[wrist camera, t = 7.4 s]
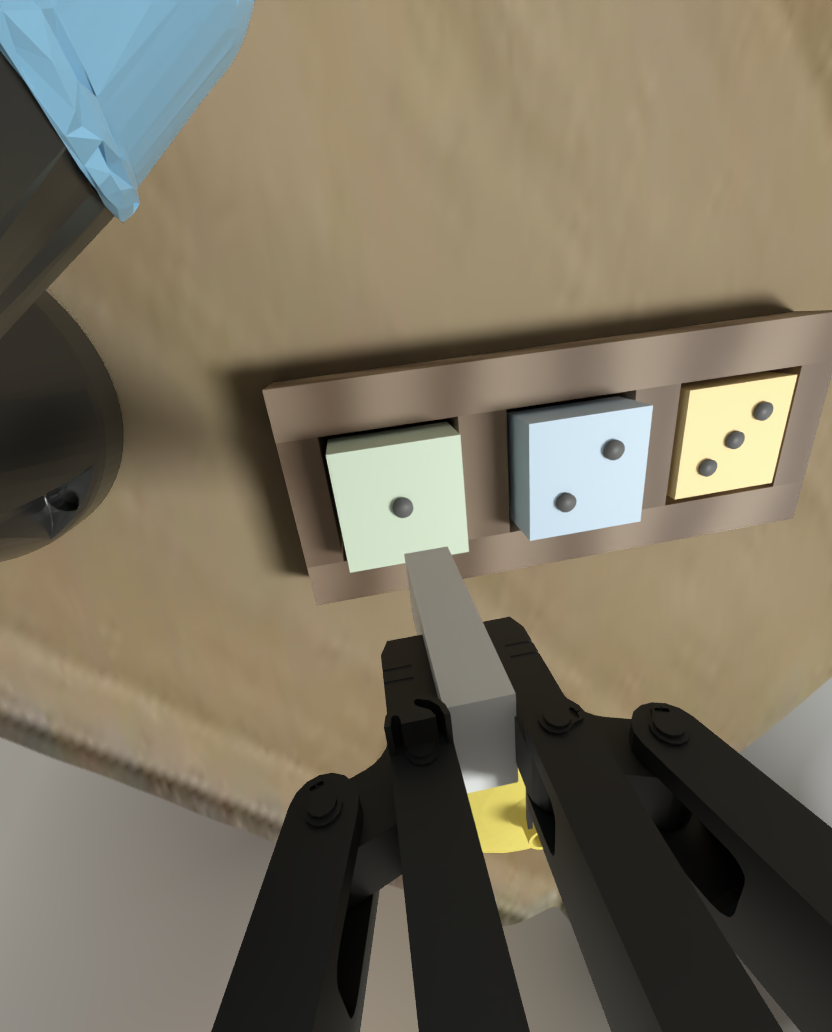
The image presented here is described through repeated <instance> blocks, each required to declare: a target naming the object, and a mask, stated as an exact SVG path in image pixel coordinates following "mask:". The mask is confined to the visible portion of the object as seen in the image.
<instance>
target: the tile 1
mask: <svg viewBox="0 0 832 1032" xmlns="http://www.w3.org/2000/svg"><path fill="white" fill-rule="evenodd" d="M326 459H327V464H328V469H329V474H330V478H331V483H332V488H333V493H334V498H335V503H336V507H337V512H338V517H339V522H340V527H341V531H342V536H343V541H344V546H345V551H346V556H347V560H348V565H349V570H350V573H352V572H357V571H363V570H369V569H374V568H380V567H386V566H391V565H397V564H403V563H405V557H404V554H406V553H412V552H418V551H424V550H429V549H435V548H441V547H447V546H448V548H449V550H450V553H451V555H453V554H459V553H465V552H469V545H468V531H467V518H466V504H465V490H464V477H463V463H462V450H461V436H460V434H459V433H458V432H457V431H456V430H455V429H454V428H453V427H452V426H451V425H450V424H449V423H448V422H441V423H434V424H427V425H420V426H414V427H407V428H400V429H394V430H387V431H380V432H373V433H367V434H360V435H353V436H347V437H340V438H333V439H328V442H327V449H326Z"/></svg>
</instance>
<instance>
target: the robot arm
mask: <svg viewBox="0 0 832 1032" xmlns="http://www.w3.org/2000/svg"><path fill="white" fill-rule="evenodd" d="M254 2H255V0H0V562H2V561H6V560H10V559H13V558H17V557H20V556H23V555H26V554H28V553H31V552H33V551H35V550H38V549H40V548H42V547H44V546H46V545H48V544H50V543H51V542H53V541H55V540H56V539H58V538H59V537H61V536H62V535H64V534H65V533H66V532H68V531H69V530H71V529H72V528H73V527H75V526H76V525H77V524H79V523H80V522H81V521H83V520H84V519H85V518H86V517H88V516H89V515H90V514H91V513H92V512H93V511H94V510H95V509H96V508H97V507H98V506H99V505H100V504H101V502H102V501H103V500H104V498H105V497H106V496H107V494H108V492H109V491H110V489H111V487H112V485H113V483H114V481H115V479H116V476H117V473H118V470H119V467H120V463H121V458H122V451H123V423H122V415H121V410H120V405H119V402H118V398H117V394H116V391H115V389H114V386H113V383H112V381H111V378H110V376H109V374H108V371H107V369H106V367H105V365H104V363H103V361H102V359H101V358H100V356H99V354H98V353H97V351H96V349H95V348H94V346H93V345H92V343H91V342H90V340H89V339H88V337H87V336H86V334H85V333H84V332H83V330H82V329H81V328H80V327H79V325H78V324H77V323H76V322H75V320H74V319H73V318H72V317H71V316H70V315H69V313H68V312H67V311H66V310H65V309H64V308H63V307H62V306H61V305H60V304H59V303H58V302H57V301H56V300H55V299H54V298H53V297H52V296H51V295H50V294H49V293H47V292H46V291H45V290H46V289H47V288H48V287H49V286H50V285H51V284H52V283H53V282H54V280H55V279H56V278H57V277H58V276H59V275H60V274H61V273H62V272H63V271H64V270H65V269H66V268H67V267H68V265H69V264H70V263H71V262H72V261H73V260H74V259H75V258H76V257H77V256H78V255H79V254H80V253H81V252H82V251H83V249H84V248H85V247H86V246H87V245H88V244H89V243H90V242H91V241H92V240H93V239H94V238H95V237H96V236H97V234H98V233H99V232H100V231H101V230H102V229H103V228H104V227H105V226H106V225H107V224H108V223H109V222H110V221H111V220H112V218H113V217H114V216H115V217H117V218H118V219H119V220H120V221H121V222H122V223H123V222H124V221H126V220H127V219H128V218H129V217H130V216H132V215H133V214H134V212H135V211H136V209H137V207H138V206H139V204H140V201H139V196H138V189H137V188H138V186H139V185H140V184H141V182H142V181H143V180H144V178H145V177H146V176H147V174H148V173H149V172H150V170H151V169H152V168H153V166H154V165H155V164H156V162H157V161H158V160H159V158H160V157H161V156H162V154H163V153H164V152H165V150H166V149H167V148H168V146H169V145H170V143H171V142H172V141H173V139H174V138H175V137H176V135H177V134H178V133H179V131H180V130H181V129H182V127H183V126H184V125H185V123H186V122H187V121H188V119H189V118H190V117H191V115H192V114H193V113H194V111H195V110H196V109H197V107H198V106H199V105H200V103H201V102H202V101H203V99H204V98H205V97H206V96H207V94H208V93H209V92H210V91H211V89H212V88H213V87H214V86H215V84H216V83H217V82H218V81H219V79H220V78H221V77H222V76H223V74H224V73H225V72H226V71H227V69H228V68H229V67H230V65H231V64H232V62H233V60H234V58H235V57H236V55H237V53H238V51H239V49H240V47H241V45H242V42H243V40H244V37H245V35H246V32H247V30H248V26H249V22H250V18H251V14H252V10H253V6H254ZM404 557H405V564H406V571H407V577H408V584H409V591H410V598H411V605H412V612H413V619H414V623H415V628H416V632H417V636H412V637H407V638H402V639H397V640H391V641H387V643H386V645H385V647H384V650H383V652H382V654H381V660H382V669H383V678H384V688H385V697H386V707H387V715H386V717H385V724H384V730H385V735H386V740H387V747H386V749H385V751H384V753H383V754H382V756H381V757H380V758H379V759H378V760H377V761H376V763H375V764H373V765H372V766H371V767H369V768H368V769H366V770H365V771H363V772H361V773H359V774H357V775H356V776H354V777H352V778H350V779H348V778H347V777H346V776H345V775H340V774H336V773H329V774H323V775H319V776H317V777H315V778H314V779H312V780H310V781H308V782H307V783H306V784H305V785H304V786H303V787H302V788H301V789H300V790H299V791H298V792H297V793H296V794H295V796H294V798H293V800H292V802H291V804H290V806H289V808H288V811H287V814H286V817H285V820H284V823H283V826H282V828H281V831H280V834H279V837H278V840H277V843H276V846H275V849H274V852H273V855H272V857H271V860H270V863H269V866H268V869H267V872H266V875H265V878H264V881H263V884H262V886H261V889H260V892H259V895H258V898H257V901H256V904H255V907H254V910H253V912H252V915H251V918H250V921H249V924H248V927H247V930H246V933H245V936H244V939H243V941H242V944H241V947H240V950H239V953H238V956H237V959H236V962H235V965H234V967H233V970H232V973H231V976H230V979H229V982H228V985H227V988H226V991H225V994H224V996H223V999H222V1003H221V1005H220V1008H219V1011H218V1014H217V1017H216V1020H215V1023H214V1026H213V1028H212V1031H211V1032H360V1027H361V1020H362V1012H363V1006H364V999H365V991H366V984H367V976H368V970H369V962H370V955H371V948H372V941H373V933H374V926H375V919H376V912H377V905H378V897H379V890H380V889H381V888H382V887H384V886H385V885H387V884H388V883H390V882H391V881H393V880H394V879H396V878H397V877H399V876H400V875H401V874H402V876H403V885H404V895H405V903H406V913H407V923H408V932H409V942H410V952H411V961H412V971H413V980H414V990H415V998H416V1009H417V1019H418V1028H419V1032H530V1031H529V1027H528V1023H527V1020H526V1016H525V1012H524V1008H523V1004H522V1001H521V997H520V993H519V989H518V985H517V982H516V978H515V974H514V970H513V966H512V963H511V958H510V955H509V951H508V947H507V943H506V939H505V936H504V932H503V928H502V924H501V920H500V917H499V913H498V909H497V905H496V901H495V897H494V894H493V890H492V886H491V882H490V878H489V875H488V871H487V867H486V863H485V859H484V856H483V852H482V848H481V844H480V840H479V837H478V833H477V829H476V825H475V821H474V817H473V814H472V810H471V806H470V802H469V798H468V795H467V793H472V792H476V791H481V790H485V789H489V788H494V787H498V786H503V785H507V784H512V783H516V782H518V769H519V772H520V774H521V777H522V779H523V782H524V785H525V787H526V821H527V827H528V829H533V823H534V826H535V829H536V831H537V834H538V837H539V839H540V842H541V845H542V847H543V850H544V853H545V855H546V858H547V861H548V863H549V866H550V869H551V871H552V874H553V877H554V879H555V882H556V885H557V887H558V890H559V893H560V895H561V898H562V901H563V904H564V906H565V909H566V912H567V914H568V917H569V920H570V922H571V925H572V927H573V930H574V933H575V935H576V938H577V941H578V943H579V946H580V949H581V952H582V954H583V957H584V960H585V962H586V965H587V968H588V970H589V973H590V975H591V978H592V981H593V984H594V986H595V989H596V992H597V994H598V997H599V1000H600V1002H601V1005H602V1008H603V1010H604V1012H605V1016H606V1018H607V1021H608V1024H609V1026H610V1029H611V1031H612V1032H783V1031H782V1029H781V1027H780V1026H779V1024H778V1022H777V1021H776V1019H775V1018H774V1016H773V1014H772V1013H771V1011H770V1009H769V1008H768V1006H767V1005H766V1003H765V1002H764V1000H763V998H762V997H761V995H760V993H759V992H758V990H757V988H756V987H755V985H754V984H753V982H752V980H751V979H750V977H749V975H748V974H747V972H746V971H745V969H744V968H743V966H742V964H741V963H740V961H739V959H738V958H737V956H736V954H737V955H738V957H739V958H740V959H741V960H742V962H743V963H744V964H745V965H746V966H747V967H748V969H749V970H750V971H751V972H752V974H753V975H754V976H755V977H756V978H757V980H758V981H759V982H760V983H761V984H762V986H763V987H764V988H765V989H766V990H767V992H768V993H769V994H770V995H771V996H772V997H773V999H774V1000H775V1001H776V1002H777V1004H778V1005H779V1006H780V1007H781V1008H782V1010H783V1011H784V1012H785V1013H786V1014H787V1016H788V1017H789V1018H790V1019H791V1020H792V1022H793V1023H794V1024H795V1025H796V1026H797V1028H798V1029H799V1030H800V1031H801V1032H832V828H831V827H830V826H829V825H827V824H826V823H825V822H823V821H822V820H821V819H820V818H819V817H817V816H816V815H815V814H814V813H812V812H811V811H810V810H809V809H807V808H806V807H805V806H804V805H802V804H801V803H800V802H799V801H798V800H796V799H795V798H793V797H792V796H791V795H790V794H789V793H788V792H786V791H785V790H784V789H782V788H781V787H780V786H779V785H778V784H776V783H775V782H774V781H773V780H771V779H770V778H769V777H768V776H766V775H765V774H764V773H763V772H761V771H760V770H759V769H758V768H756V767H755V766H754V765H753V764H751V763H750V762H749V761H748V760H746V759H745V758H744V757H743V756H742V755H740V754H739V753H738V752H737V751H735V750H734V749H733V748H732V747H730V746H729V745H728V744H727V743H725V742H724V741H723V740H722V739H720V738H719V737H718V736H717V735H715V734H714V733H713V732H712V731H710V730H709V729H708V728H707V727H705V726H704V725H703V724H702V723H700V722H699V721H698V720H697V719H695V718H694V717H693V716H691V715H690V714H688V713H687V712H685V711H683V710H682V709H680V708H678V707H675V706H672V705H669V704H666V703H648V704H644V705H641V706H640V707H638V708H637V709H636V710H635V711H634V712H633V715H632V719H623V718H610V717H602V716H596V715H592V714H590V713H587V712H585V711H584V710H583V709H582V708H581V707H580V706H579V705H578V704H576V703H574V702H573V701H571V700H569V699H567V698H566V697H565V696H564V694H563V693H562V691H561V689H560V688H559V686H558V684H557V683H556V681H555V679H554V677H553V676H552V674H551V672H550V671H549V669H548V667H547V666H546V664H545V662H544V661H543V659H542V657H541V656H540V654H538V650H537V649H536V647H535V645H534V644H533V643H532V641H531V639H530V637H529V635H528V634H527V632H526V630H525V628H524V627H523V626H522V625H520V624H519V623H518V622H516V621H515V620H513V619H512V618H511V617H506V618H501V619H495V620H490V621H485V622H482V620H481V617H480V615H479V613H478V611H477V609H476V607H475V604H474V602H473V600H472V598H471V596H470V594H469V592H468V589H467V587H466V585H465V583H464V581H463V579H462V576H461V574H460V572H459V570H458V568H457V566H456V563H455V561H454V559H453V557H452V555H451V553H450V550H449V548H448V546H447V547H441V548H435V549H429V550H424V551H418V552H412V553H406V554H404ZM734 952H735V953H736V954H735V953H734Z"/></svg>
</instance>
